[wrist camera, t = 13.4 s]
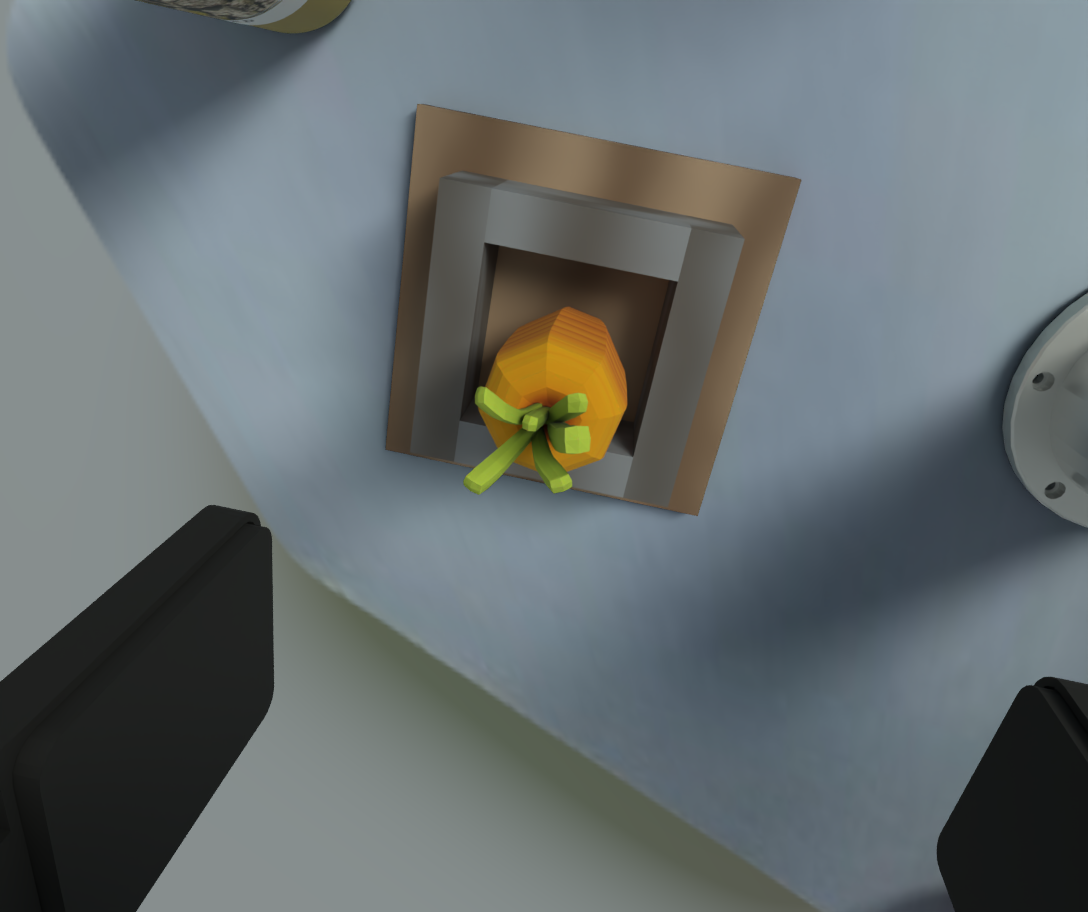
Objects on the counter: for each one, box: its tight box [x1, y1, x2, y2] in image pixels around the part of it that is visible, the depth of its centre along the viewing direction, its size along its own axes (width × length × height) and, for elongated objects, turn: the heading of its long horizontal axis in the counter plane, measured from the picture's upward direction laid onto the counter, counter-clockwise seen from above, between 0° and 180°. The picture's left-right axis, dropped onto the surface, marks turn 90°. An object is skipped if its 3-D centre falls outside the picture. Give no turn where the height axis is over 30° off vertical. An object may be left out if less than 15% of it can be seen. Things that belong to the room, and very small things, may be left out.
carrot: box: [463, 307, 627, 495], centre depth 27 cm, size 5×5×15 cm
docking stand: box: [386, 104, 801, 516], centre depth 32 cm, size 16×16×5 cm
